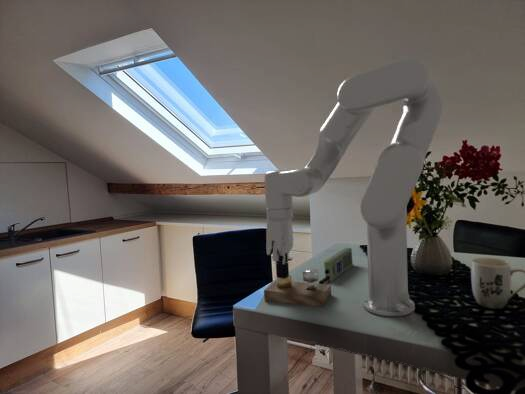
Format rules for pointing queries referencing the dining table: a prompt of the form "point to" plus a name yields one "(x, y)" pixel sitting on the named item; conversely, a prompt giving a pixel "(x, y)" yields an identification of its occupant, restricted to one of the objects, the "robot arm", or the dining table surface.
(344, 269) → the handheld radio
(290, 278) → the brass knob
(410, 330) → the dining table surface
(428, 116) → the robot arm
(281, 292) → the panel
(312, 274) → the steel knob
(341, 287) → the dining table surface
